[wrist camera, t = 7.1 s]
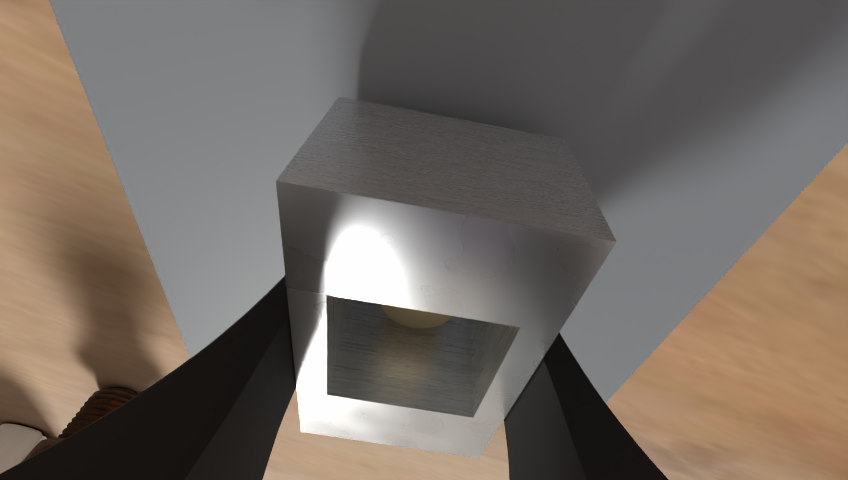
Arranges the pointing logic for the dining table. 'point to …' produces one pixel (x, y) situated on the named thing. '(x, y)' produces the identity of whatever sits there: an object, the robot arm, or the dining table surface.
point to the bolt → (88, 414)
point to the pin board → (478, 102)
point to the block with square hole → (428, 271)
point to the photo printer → (16, 444)
